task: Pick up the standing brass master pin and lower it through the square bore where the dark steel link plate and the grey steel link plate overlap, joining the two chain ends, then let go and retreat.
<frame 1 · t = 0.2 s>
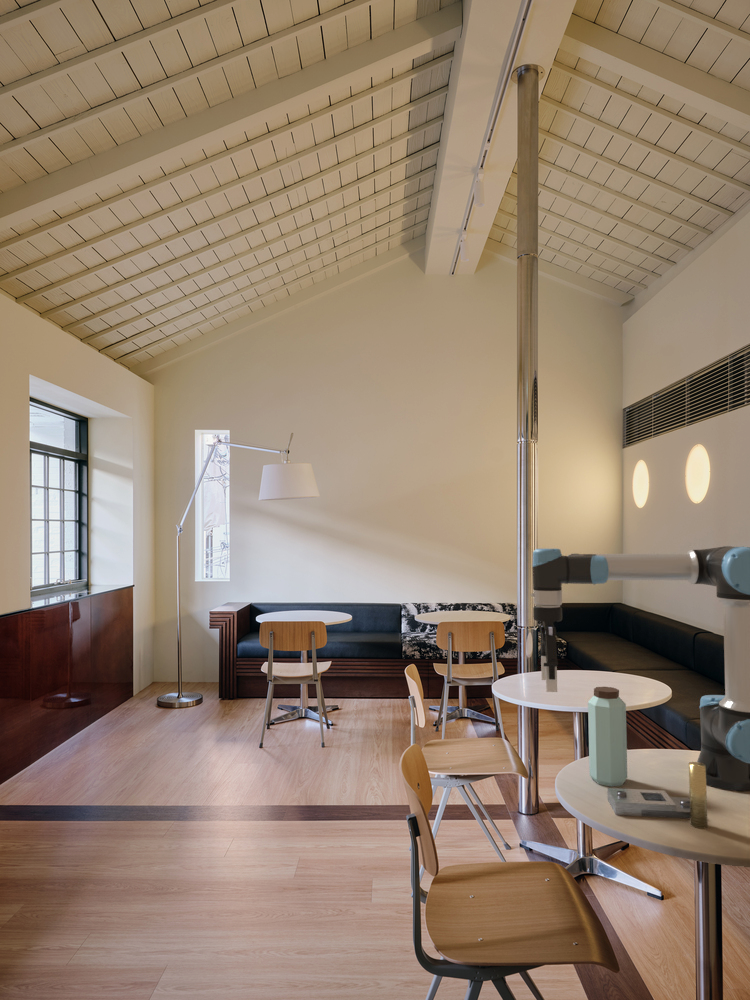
hand: (549, 685, 176), 28 cm above the table, fingers open, 13 cm apart
master pin: (698, 825, 154), on the table
chain ends: (653, 809, 163), on the table
water bottle: (608, 781, 182), on the table
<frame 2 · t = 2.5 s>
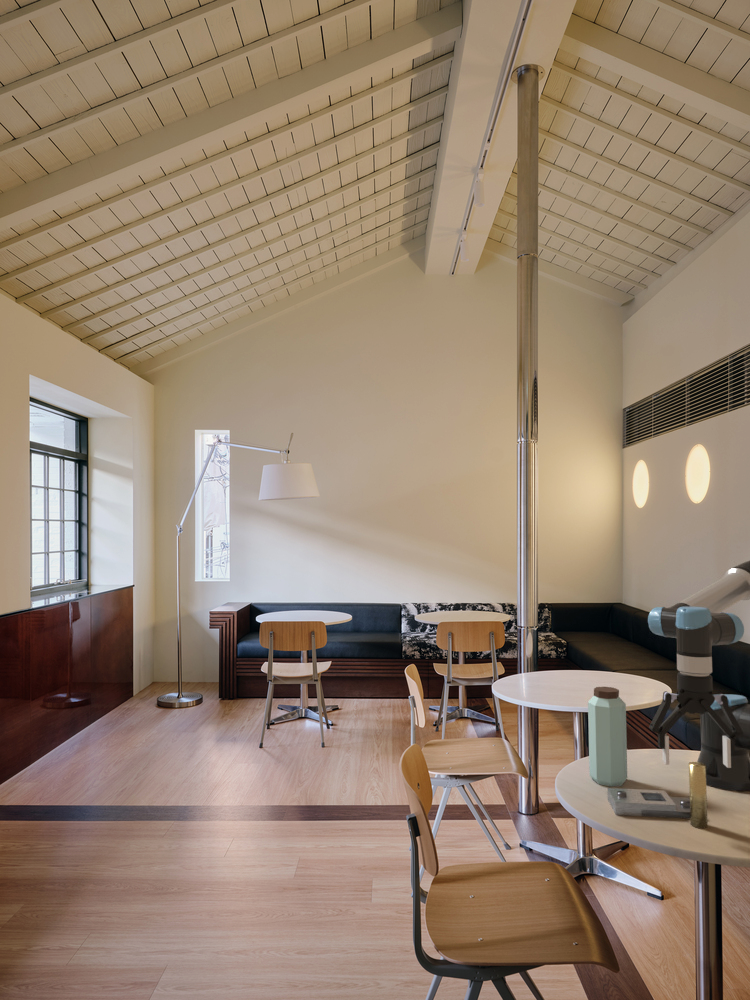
hand: (696, 764, 154), 14 cm above the table, fingers open, 13 cm apart
nothing on the table moved.
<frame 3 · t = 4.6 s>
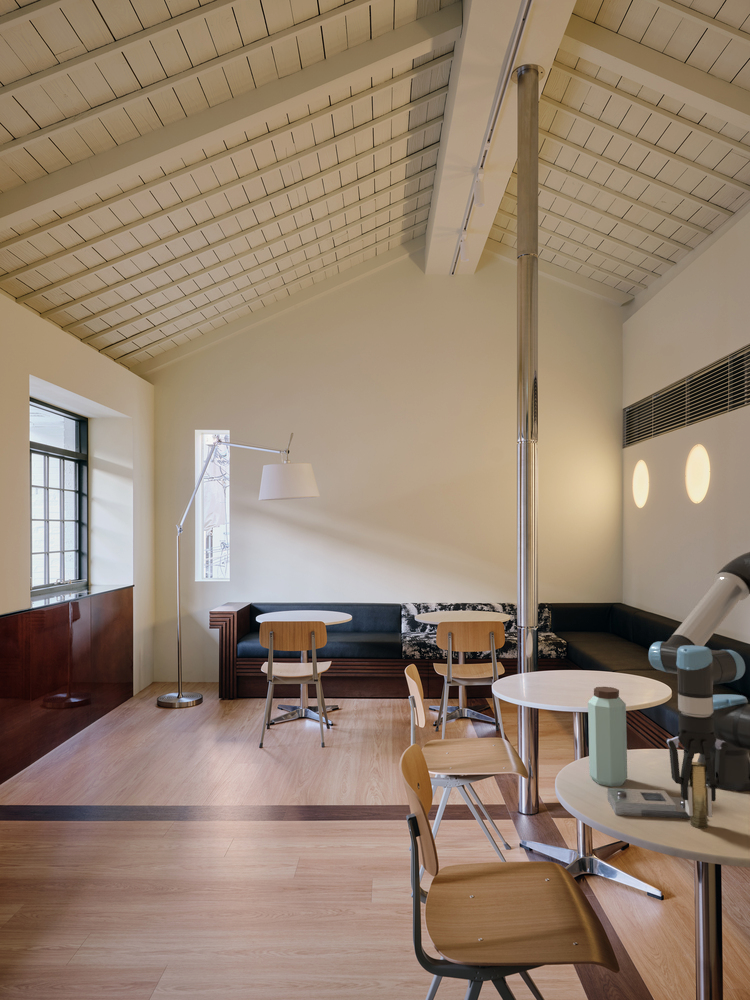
hand: (698, 813, 154), 3 cm above the table, fingers closed on master pin, 3 cm apart
master pin: (699, 825, 154), on the table, touching gripper
everything else where it was.
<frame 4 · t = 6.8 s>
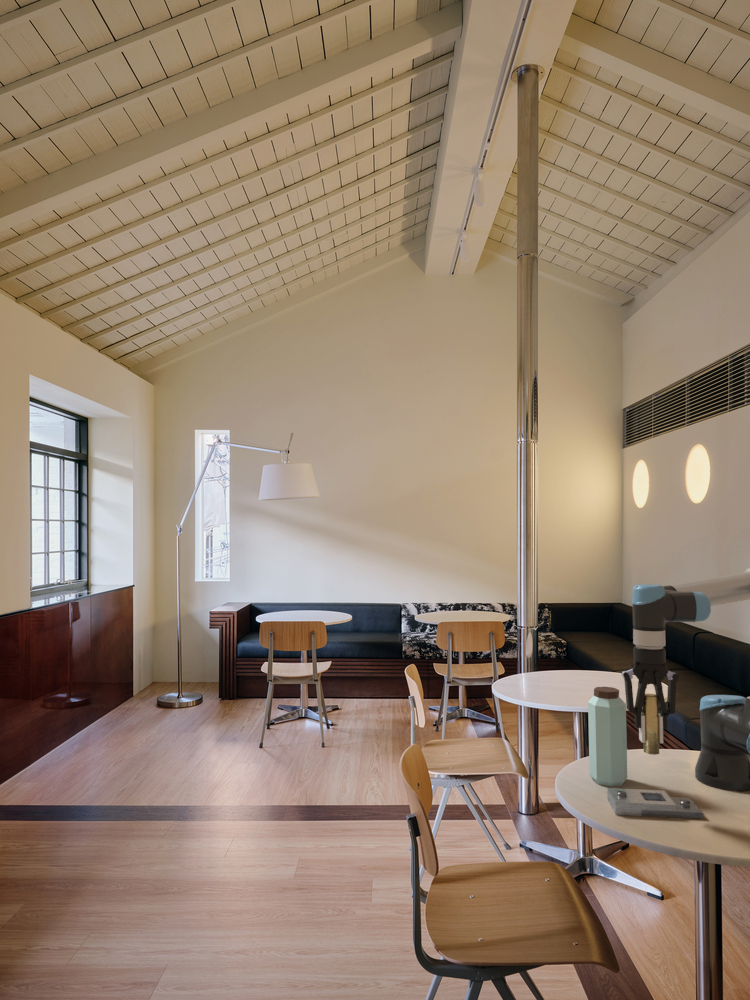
hand: (651, 741, 164), 17 cm above the table, fingers closed on master pin, 3 cm apart
master pin: (651, 752, 163), point 14 cm above the table, touching gripper
everything else where it was.
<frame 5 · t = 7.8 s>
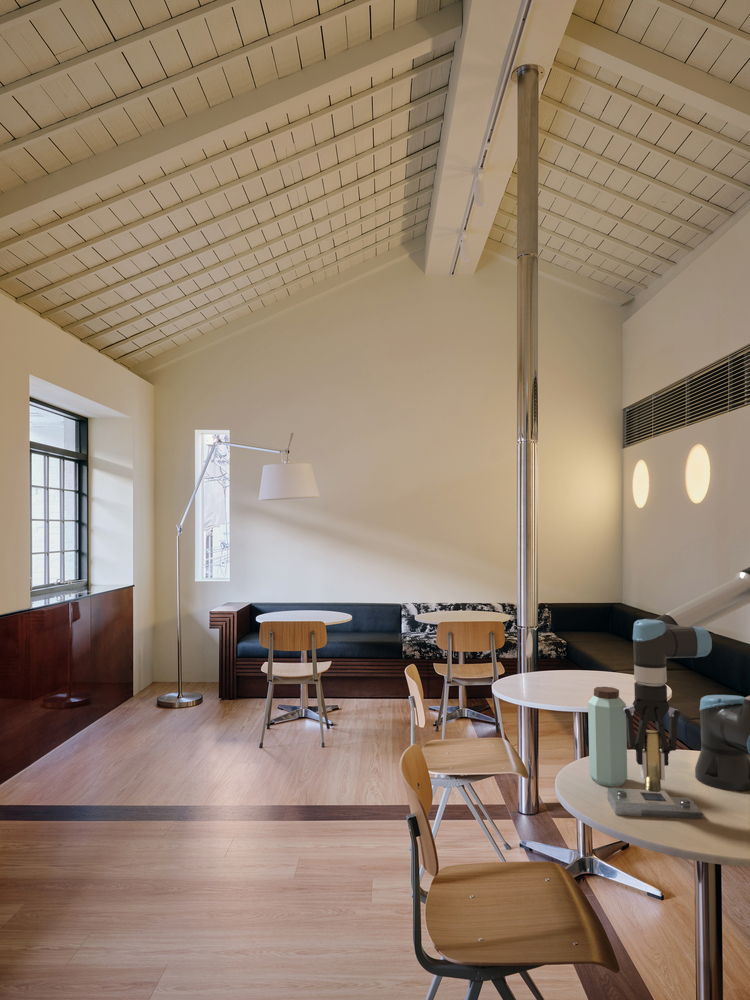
hand: (652, 777, 163), 8 cm above the table, fingers closed on master pin, 3 cm apart
master pin: (652, 789, 163), point 5 cm above the table, touching gripper
everything else where it was.
when the fingers open (4 cm above the table, at t = 8.9 s): master pin stays where it is, resting in chain ends.
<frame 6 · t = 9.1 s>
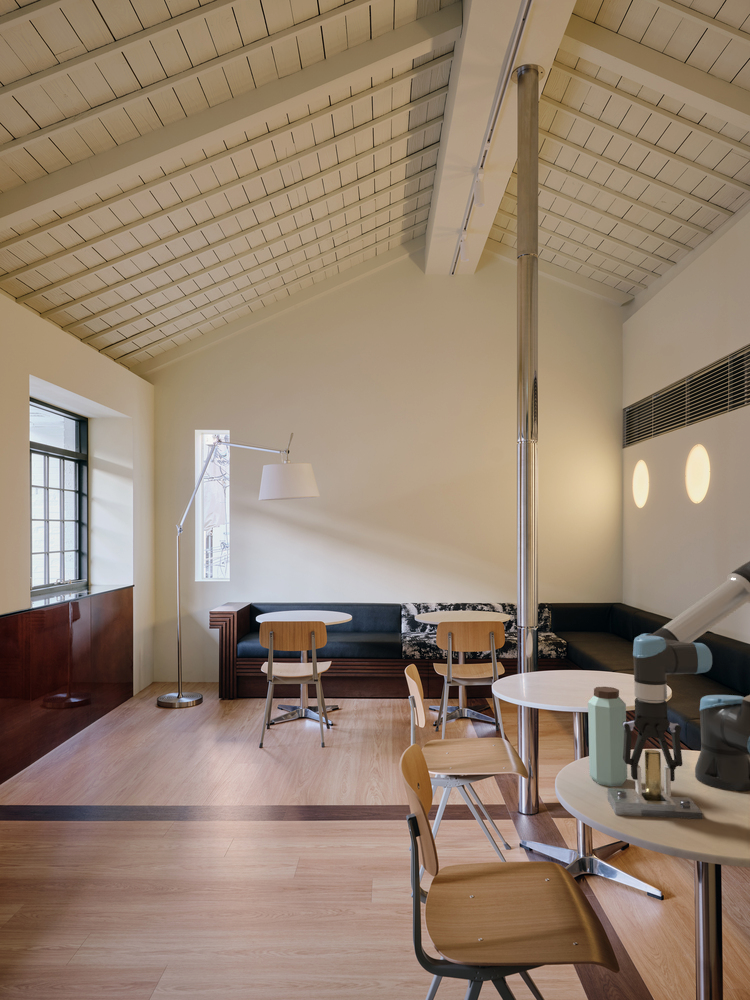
hand: (653, 793, 163), 4 cm above the table, fingers open, 6 cm apart
master pin: (653, 809, 163), resting in chain ends
everything else where it was.
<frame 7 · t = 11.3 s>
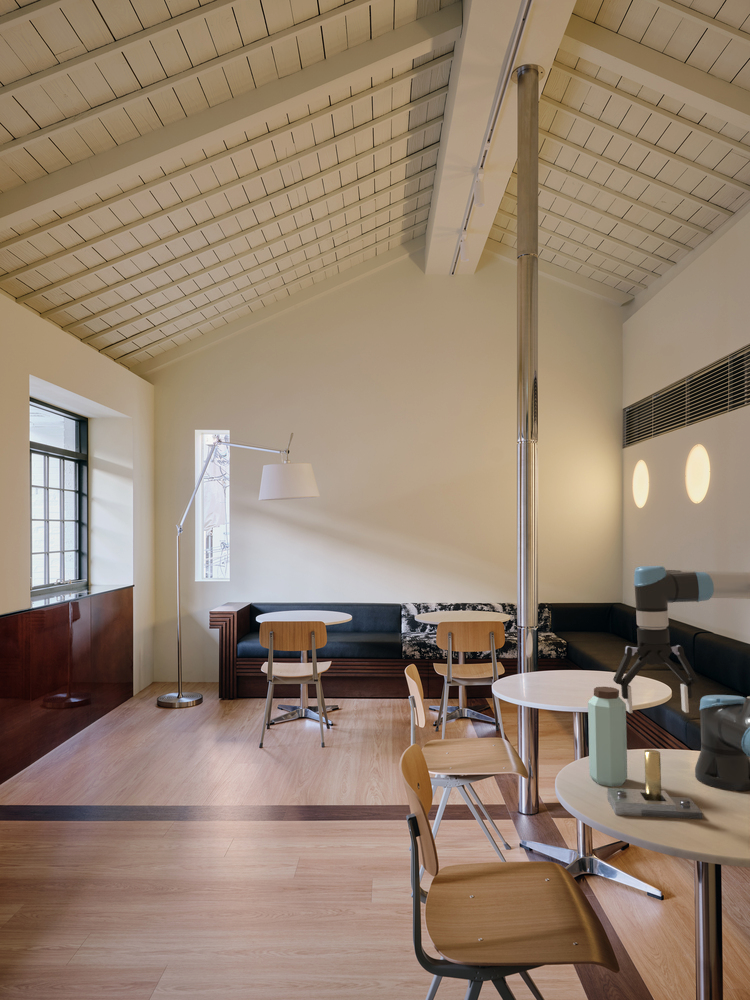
hand: (657, 711, 166), 23 cm above the table, fingers open, 13 cm apart
nothing on the table moved.
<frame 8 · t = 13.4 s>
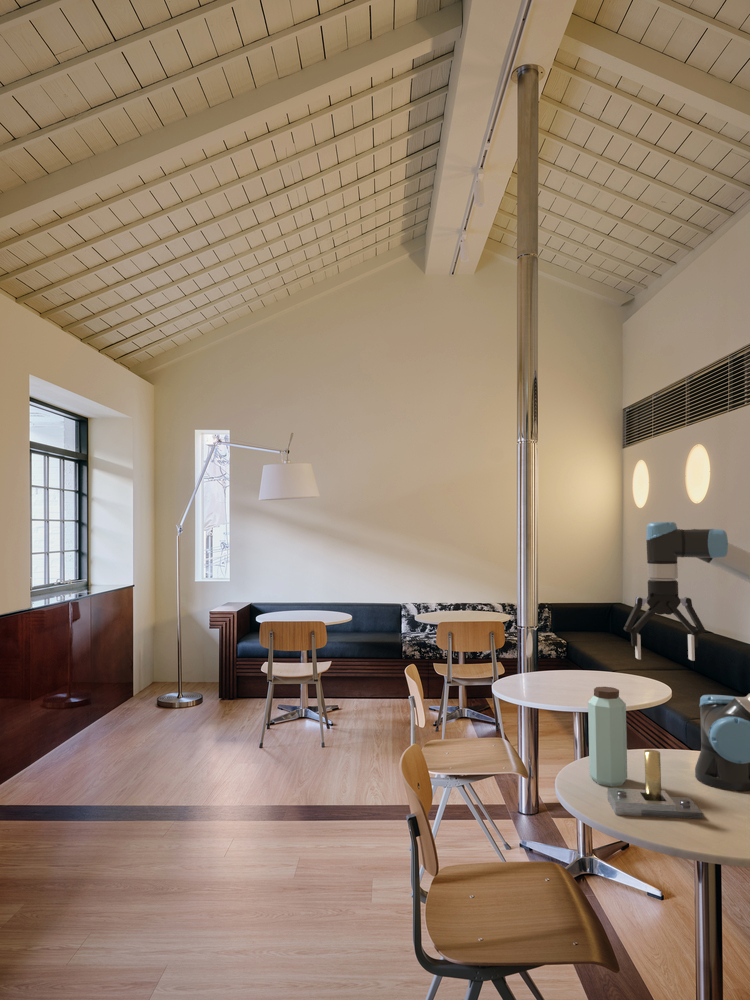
hand: (664, 659, 176), 35 cm above the table, fingers open, 13 cm apart
nothing on the table moved.
at the end: master pin 0.1 cm off-centre on the chain ends, point 0.0 cm above the chain ends's base; master pin tilted 0°; the gripper is holding nothing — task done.
